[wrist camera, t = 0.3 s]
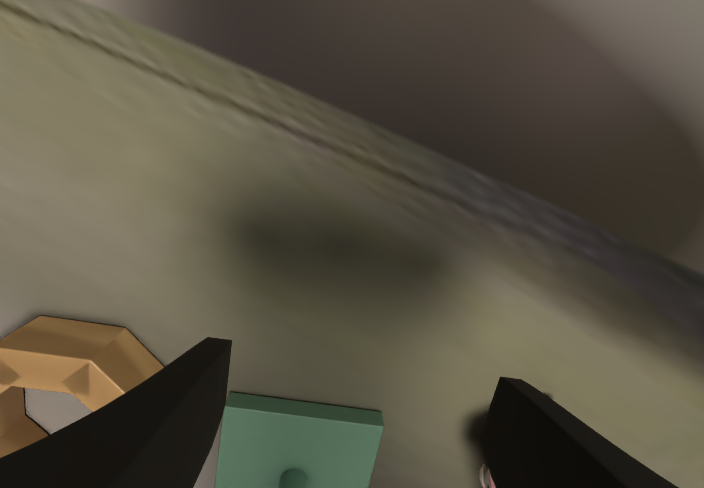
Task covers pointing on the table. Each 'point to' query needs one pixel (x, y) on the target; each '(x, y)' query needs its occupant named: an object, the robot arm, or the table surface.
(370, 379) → the table surface
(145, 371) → the hanging ring
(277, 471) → the green peg stand
